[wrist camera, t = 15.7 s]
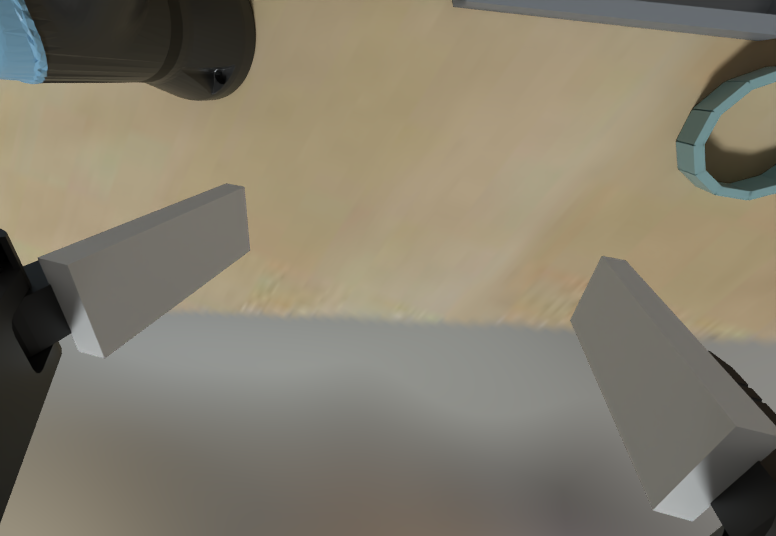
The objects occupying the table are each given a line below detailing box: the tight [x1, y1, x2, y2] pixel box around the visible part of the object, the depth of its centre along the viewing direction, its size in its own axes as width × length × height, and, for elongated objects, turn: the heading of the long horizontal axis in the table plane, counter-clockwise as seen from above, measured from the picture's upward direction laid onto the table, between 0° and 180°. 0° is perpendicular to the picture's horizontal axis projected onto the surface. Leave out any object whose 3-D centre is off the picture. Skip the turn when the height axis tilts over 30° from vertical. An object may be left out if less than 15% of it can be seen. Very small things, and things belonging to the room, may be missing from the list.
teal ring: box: [676, 66, 776, 200], centre depth 30 cm, size 11×11×3 cm
